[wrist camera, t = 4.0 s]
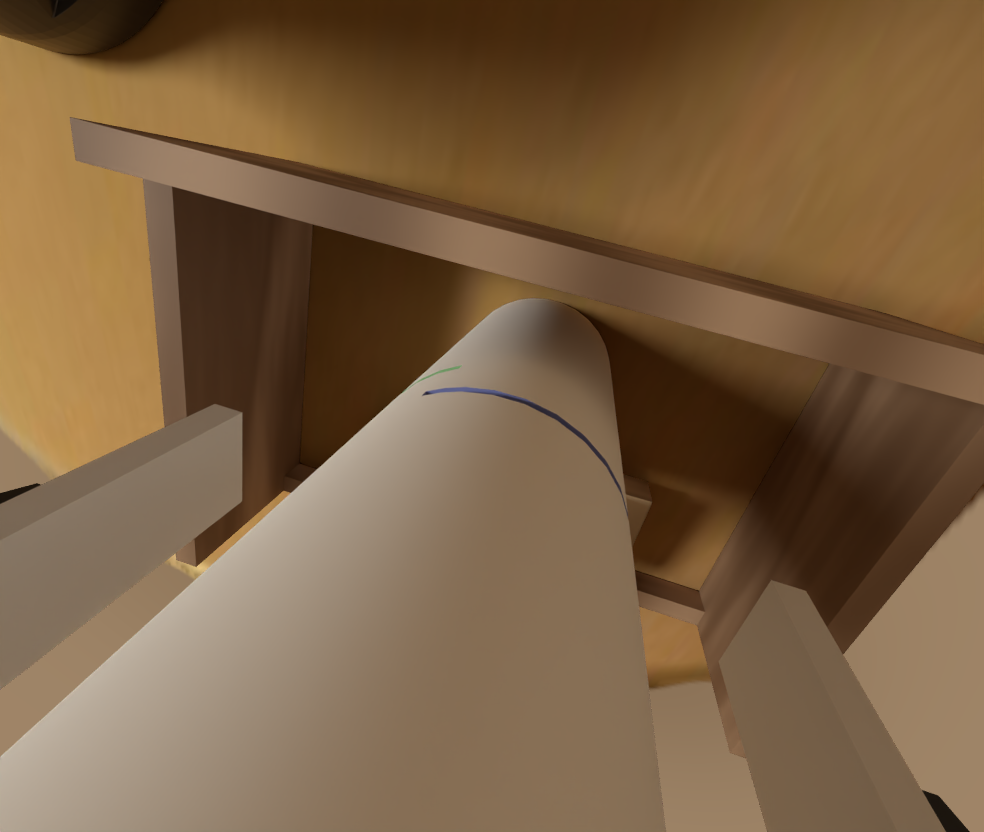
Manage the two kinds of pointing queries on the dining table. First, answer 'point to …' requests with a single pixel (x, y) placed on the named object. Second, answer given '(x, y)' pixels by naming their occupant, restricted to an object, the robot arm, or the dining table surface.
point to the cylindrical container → (393, 632)
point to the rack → (587, 273)
